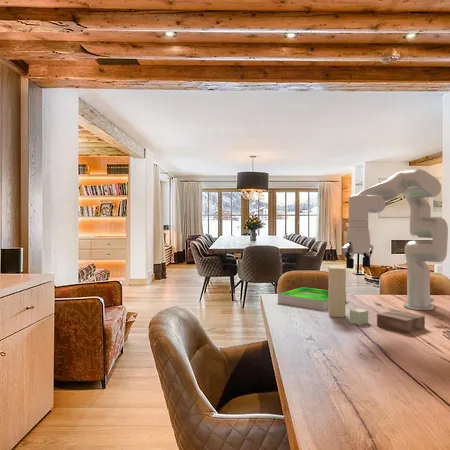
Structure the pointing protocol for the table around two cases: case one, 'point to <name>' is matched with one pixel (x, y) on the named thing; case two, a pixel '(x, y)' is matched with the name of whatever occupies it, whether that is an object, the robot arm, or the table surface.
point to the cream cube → (359, 316)
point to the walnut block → (401, 321)
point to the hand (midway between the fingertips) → (358, 267)
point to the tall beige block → (336, 291)
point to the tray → (306, 298)
